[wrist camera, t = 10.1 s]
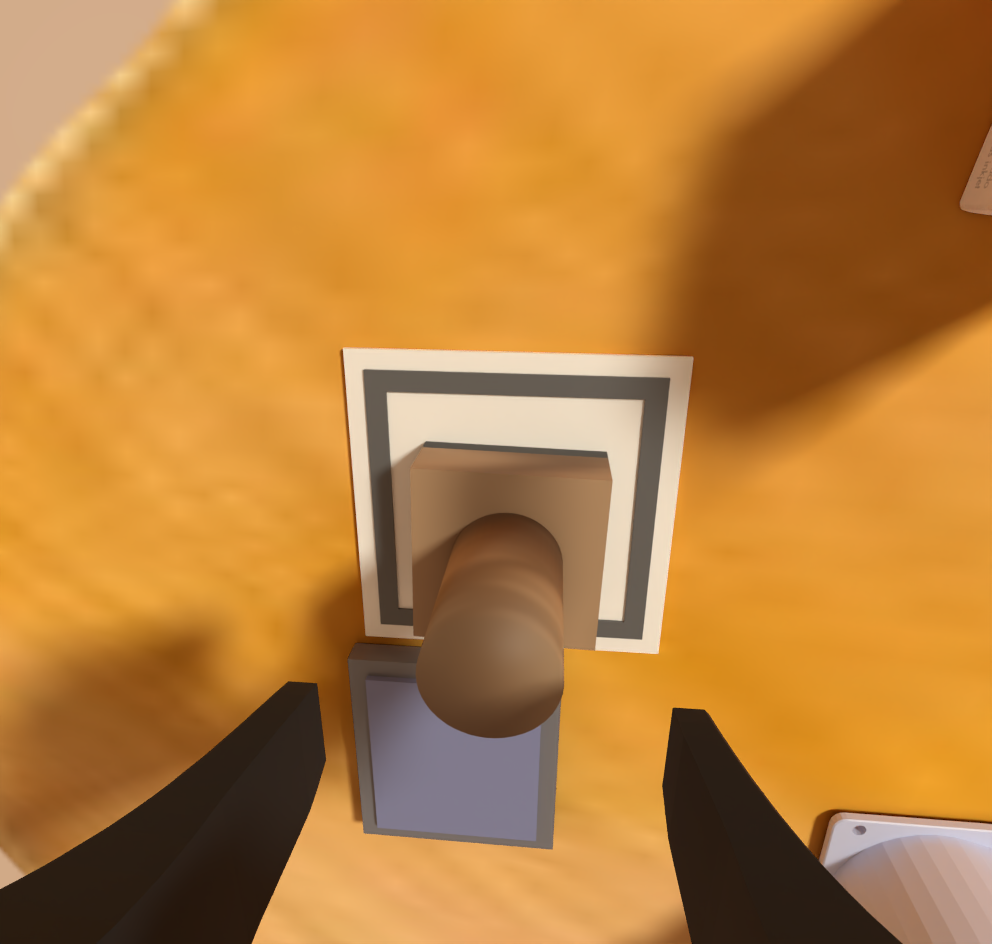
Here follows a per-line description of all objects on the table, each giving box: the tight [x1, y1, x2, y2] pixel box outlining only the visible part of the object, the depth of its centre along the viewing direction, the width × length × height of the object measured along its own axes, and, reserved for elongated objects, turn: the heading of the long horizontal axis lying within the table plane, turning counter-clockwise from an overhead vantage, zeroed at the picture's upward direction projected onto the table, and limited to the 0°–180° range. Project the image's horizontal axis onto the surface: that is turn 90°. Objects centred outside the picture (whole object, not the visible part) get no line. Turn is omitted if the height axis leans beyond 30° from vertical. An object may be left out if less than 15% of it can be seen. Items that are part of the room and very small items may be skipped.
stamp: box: [410, 441, 613, 738], centre depth 19 cm, size 6×6×8 cm
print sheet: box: [343, 347, 694, 654], centre depth 23 cm, size 11×11×1 cm
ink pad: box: [348, 643, 561, 849], centre depth 26 cm, size 8×9×1 cm
